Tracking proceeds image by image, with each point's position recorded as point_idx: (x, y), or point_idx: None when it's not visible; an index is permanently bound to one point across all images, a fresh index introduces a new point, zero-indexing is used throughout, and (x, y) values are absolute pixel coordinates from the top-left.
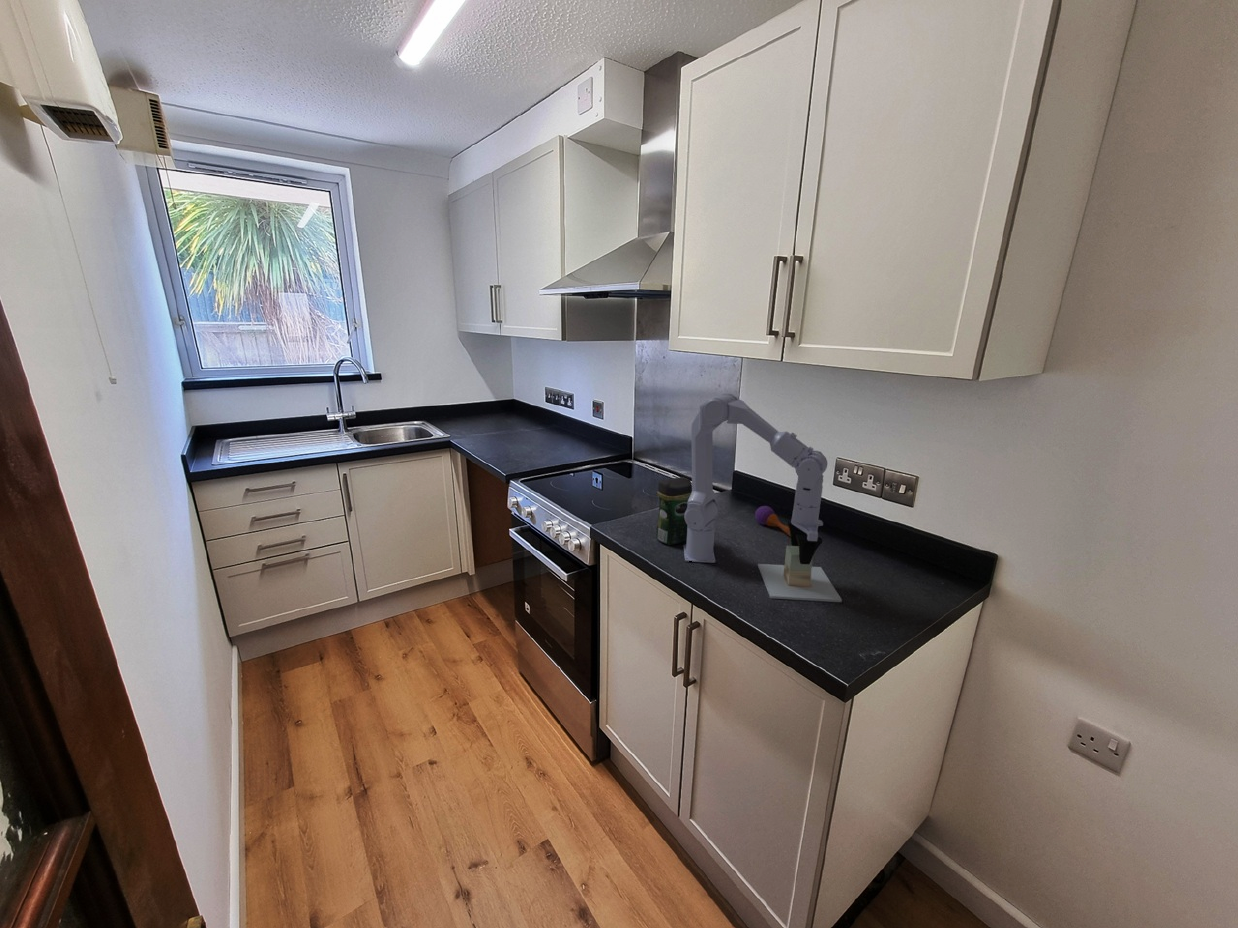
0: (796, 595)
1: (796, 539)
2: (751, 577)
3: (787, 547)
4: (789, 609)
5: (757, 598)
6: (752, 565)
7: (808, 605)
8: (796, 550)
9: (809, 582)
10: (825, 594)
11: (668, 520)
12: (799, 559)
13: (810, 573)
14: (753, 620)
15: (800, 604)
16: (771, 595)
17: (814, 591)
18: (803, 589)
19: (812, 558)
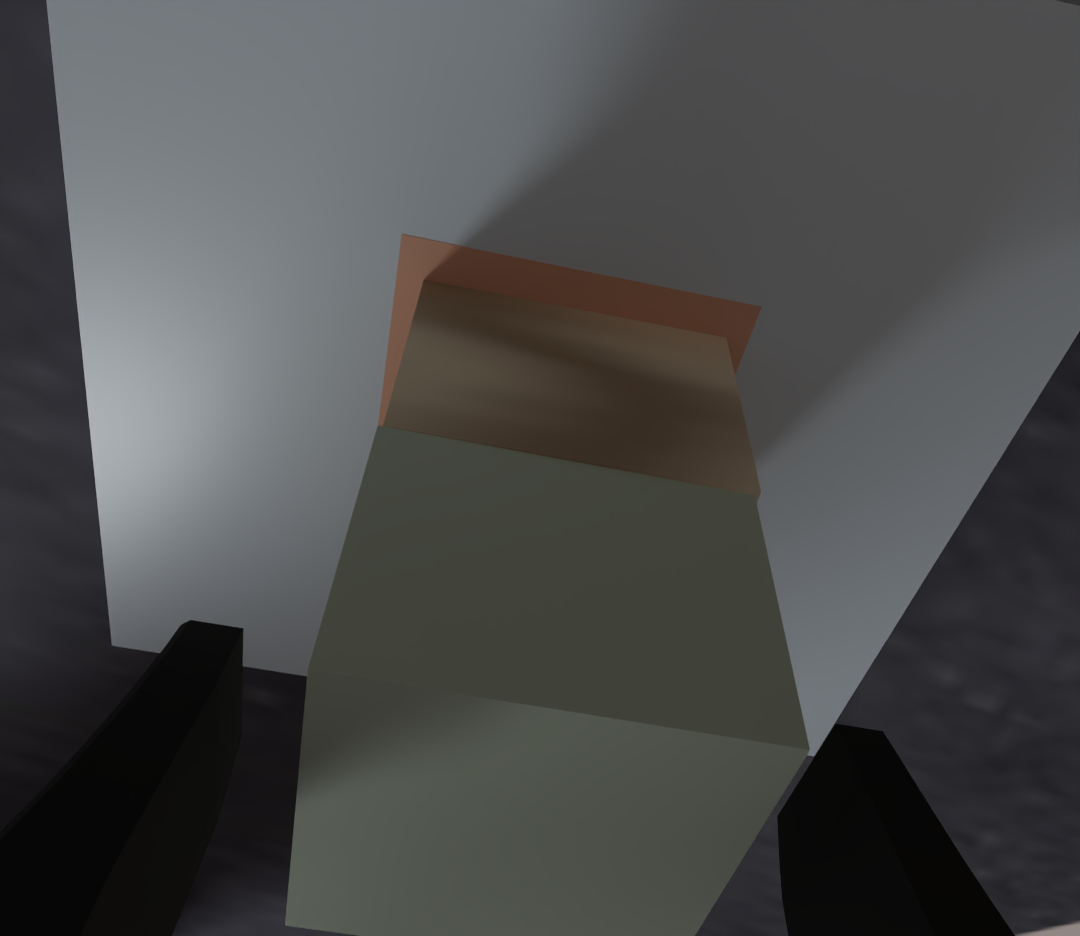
0: (887, 567)
1: (155, 920)
2: None
3: (356, 930)
4: (1048, 672)
5: (779, 806)
6: (120, 662)
7: (1070, 495)
8: (498, 878)
9: (734, 380)
10: (999, 225)
11: None
12: (788, 886)
13: (750, 475)
14: (1061, 902)
15: (1015, 557)
16: None
17: (871, 336)
18: (782, 443)
19: (792, 700)
